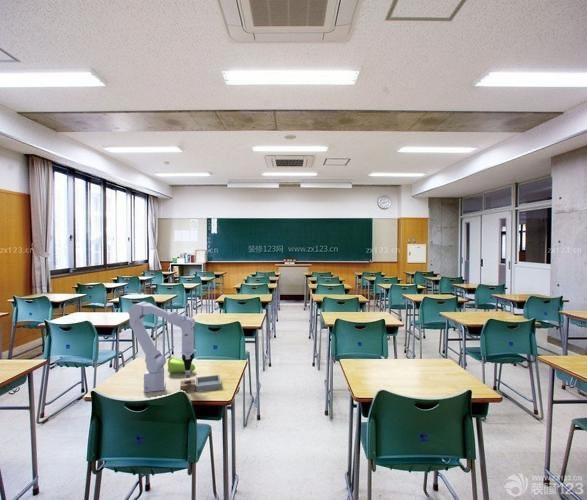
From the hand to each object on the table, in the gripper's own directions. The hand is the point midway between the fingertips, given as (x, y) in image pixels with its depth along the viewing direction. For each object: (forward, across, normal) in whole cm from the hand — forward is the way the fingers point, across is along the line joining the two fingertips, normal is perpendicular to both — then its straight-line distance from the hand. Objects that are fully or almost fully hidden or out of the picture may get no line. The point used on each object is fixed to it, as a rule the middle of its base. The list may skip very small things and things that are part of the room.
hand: (187, 369), depth 168 cm
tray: (+10, +1, -10) cm, 14 cm away
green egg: (+10, +25, +5) cm, 28 cm away
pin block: (+10, 0, 0) cm, 10 cm away
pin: (+4, 0, 0) cm, 4 cm away
